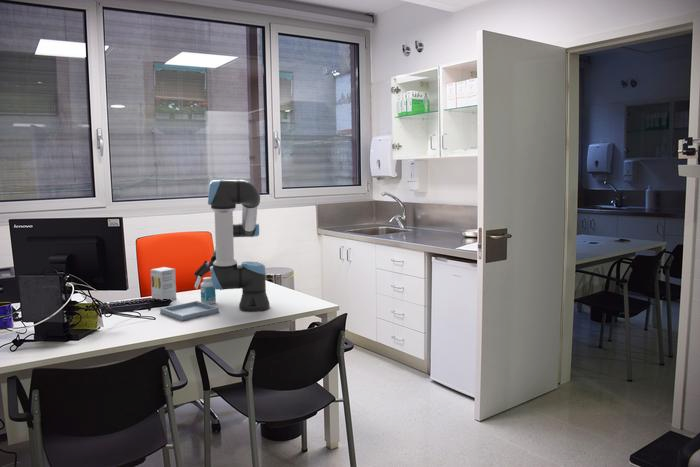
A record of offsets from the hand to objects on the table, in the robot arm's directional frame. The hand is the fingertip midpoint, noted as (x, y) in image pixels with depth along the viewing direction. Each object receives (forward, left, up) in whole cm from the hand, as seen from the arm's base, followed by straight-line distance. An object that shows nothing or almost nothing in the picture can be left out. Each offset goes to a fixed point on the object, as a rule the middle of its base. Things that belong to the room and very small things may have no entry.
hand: (207, 288), depth 283 cm
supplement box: (+23, +12, -8) cm, 28 cm away
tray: (-11, +17, -8) cm, 22 cm away
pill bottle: (-1, 0, -8) cm, 8 cm away
